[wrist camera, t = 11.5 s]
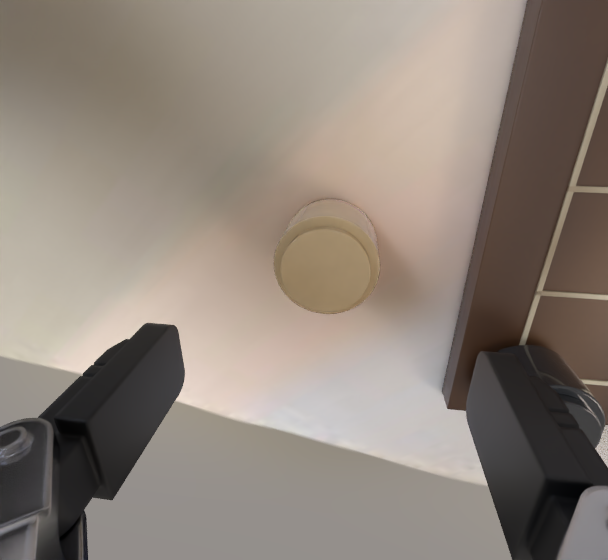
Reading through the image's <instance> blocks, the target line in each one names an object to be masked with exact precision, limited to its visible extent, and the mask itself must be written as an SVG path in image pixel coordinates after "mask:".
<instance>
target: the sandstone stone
mask: <svg viewBox="0 0 608 560" xmlns="http://www.w3.org/2000/svg"><path fill="white" fill-rule="evenodd" d="M274 271H275V276H276V279H277V281H278V284H279V285H280V287H281V289H282V290H283V292H284V293H285V294H286V295H287V297H288V298H289V299H291V300H292V301H293V302H294V303H296V304H297V305H299V306H300V307H302V308H304V309H306V310H309V311H312V312H316V313H322V314H334V313H340V312H344V311H347V310H350V309H352V308H354V307H356V306H358V305H359V304H361V303H362V302H363V301H364V300H365V299H366V298H367V297H368V296H369V295H370V294H371V292H372V291H373V290H374V288H375V286H376V284H377V281H378V278H379V273H380V260H379V252H378V244H377V237H376V232H375V229H374V227H373V224H372V223H371V221H370V219H369V218H368V217H367V216H366V214H365V213H364V212H362V211H361V210H360V209H359V208H357V207H356V206H354V205H352V204H350V203H348V202H345V201H341V200H335V199H325V200H319V201H316V202H313V203H311V204H308V205H307V206H305V207H304V208H302V209H301V210H300V211H299V212H298V213H297V214H296V215H295V216H294V217H293V219H292V220H291V222H290V223H289V225H288V227H287V229H286V231H285V232H284V234H283V236H282V238H281V239H280V241H279V243H278V245H277V248H276V251H275V255H274Z"/></svg>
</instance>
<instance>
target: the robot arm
mask: <svg viewBox="0 0 608 560" xmlns="http://www.w3.org/2000/svg"><path fill="white" fill-rule="evenodd" d="M184 376H185V370H184V363H183V357H182V351H181V345H180V339H179V333H178V329H177V327H176V326H174V325H167V324H155V323H146V324H144V325H143V326H142V327H141V328H140V329H139V330H138V331H137V332H136V333H135V334H134V335H133V336H132V337H131V338H130V339H125V340H124V341H122V342H120V343H118V344H117V345H115V346H113V347H111V348H110V349H108V350H107V351H106V352H105V353H104V354H103V355H101V356H100V357H99V358H98V359H97V360H96V361H95V362H94V365H91V366H90V367H89V368H88V369H87V370H86V371H85V372H84V373H83V376H80V377H79V378H78V379H77V380H76V381H75V382H74V383H73V384H72V385H71V386H70V387H69V388H68V389H67V390H66V391H65V392H64V393H62V395H61V396H59V397H58V398H57V399H56V401H54V402H53V403H52V404H51V405H50V406H49V407H48V408H47V409H46V410H45V411H44V412H43V413H42V414H41V415H40V416H39V417H38V418H26V419H21V420H17V421H14V422H11V423H8V424H6V425H4V426H2V427H0V560H88V549H87V524H86V514H85V512H84V509H85V507H86V506H87V505H88V503H89V502H90V500H91V499H92V497H93V498H100V499H107V500H113V498H114V497H115V495H116V494H117V492H118V491H119V489H120V487H121V486H122V484H123V483H124V481H125V479H126V478H127V476H128V474H129V473H130V471H131V470H132V468H133V467H134V465H135V463H136V462H137V460H138V459H139V457H140V455H141V454H142V452H143V451H144V449H145V447H146V446H147V444H148V443H149V441H150V440H151V438H152V436H153V435H154V433H155V432H156V430H157V428H158V427H159V425H160V424H161V422H162V420H163V419H164V417H165V415H166V414H167V412H168V411H169V409H170V408H171V406H172V404H173V403H174V401H175V400H176V398H177V396H178V395H179V393H180V391H181V389H182V386H183V383H184ZM466 414H467V421H468V425H469V428H470V431H471V434H472V437H473V440H474V444H475V447H476V450H477V453H478V456H479V459H480V462H481V465H482V468H483V471H484V474H485V477H486V480H487V483H488V486H489V489H490V492H491V495H492V498H493V502H494V505H495V508H496V511H497V514H498V517H499V520H500V523H501V526H502V529H503V532H504V535H505V538H506V541H507V544H508V548H509V551H510V553H511V557H512V560H608V468H607V466H606V465H605V463H604V462H603V460H602V459H601V457H600V456H599V454H598V453H597V451H596V450H595V448H594V447H593V445H592V444H591V442H590V441H589V439H588V438H587V436H586V435H585V433H584V432H583V430H582V429H579V424H578V423H577V421H576V420H575V418H574V417H573V415H572V414H569V409H568V408H567V406H566V405H565V403H564V402H563V400H562V399H561V397H560V396H559V394H558V393H557V392H556V391H555V390H554V389H553V388H551V387H550V386H549V385H548V384H546V383H545V382H544V381H543V380H542V379H540V378H539V377H538V376H528V374H527V373H526V371H525V369H524V368H523V366H522V364H521V363H520V361H519V359H518V358H517V356H516V355H515V354H511V353H498V352H486V351H481V352H480V353H479V354H478V356H477V359H476V364H475V368H474V372H473V376H472V380H471V384H470V388H469V392H468V396H467V402H466Z"/></svg>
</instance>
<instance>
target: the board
mask: <svg viewBox="0 0 608 560" xmlns="http://www.w3.org/2000/svg"><path fill="white" fill-rule="evenodd" d="M518 345H536V346H541V347H545V348H548V349H550V350H553V351H555V352H556V353H558V354H559V355H561V356H562V357H563V358H564V359H565V360H566V362H567V363H568V364H569V365H570V367H571V368H572V369H573V370H574V372H575V373H576V374H577V375H578V377H579V378H580V379H581V380H582V382H583V383H584V384H585V385H586V387H587V388H588V389H589V390H590V392H591V393H592V394H593V395H594V397H595V398H596V399H597V400H598V402H599V403H600V405H601V406H602V408H603V410H604V414H605V425H608V0H528V1H527V6H526V11H525V15H524V20H523V24H522V29H521V33H520V38H519V42H518V47H517V52H516V56H515V61H514V65H513V70H512V74H511V79H510V84H509V88H508V93H507V97H506V102H505V106H504V111H503V115H502V120H501V125H500V129H499V134H498V138H497V143H496V147H495V152H494V157H493V161H492V166H491V170H490V175H489V179H488V184H487V188H486V193H485V198H484V202H483V207H482V211H481V216H480V220H479V225H478V230H477V234H476V239H475V243H474V248H473V252H472V257H471V261H470V266H469V271H468V275H467V280H466V284H465V289H464V293H463V298H462V303H461V307H460V312H459V316H458V321H457V325H456V330H455V334H454V339H453V344H452V348H451V353H450V357H449V362H448V366H447V371H446V376H445V380H444V385H443V389H442V392H443V395H444V399H445V402H446V406H447V409H454V410H464V411H466V402H467V396H468V392H469V388H470V384H471V380H472V376H473V372H474V368H475V364H476V359H477V356H478V354H479V353H480V352H481V351H486V352H497V351H499V350H501V349H504V348H507V347H511V346H518Z"/></svg>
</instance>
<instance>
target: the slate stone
mask: <svg viewBox="0 0 608 560" xmlns="http://www.w3.org/2000/svg"><path fill="white" fill-rule="evenodd" d="M497 352H498V353H511V354H515V355H516V356H517V358H518V359H519V361H520V363H521V364H522V366H523V368H524V369H525V371H526V373H527V374H528V376H538V377H539V378H540V379H542V380H543V381H544V382H545V383H546V384H548V385H549V386H550V387H551V388H553V389H554V390H555V391H556V392H557V393H558V394H559V396H560V397H561V399H562V400H563V402H564V403H565V405H566V406H567V408H568V409H569V414H572V415H573V417H574V418H575V420H576V421H577V423H578V424H579V429H582V430H583V432H584V433H585V435H586V436H587V438H588V439H589V441H590V442H591V444H592V445H593V447H594V448H596V446H597V445H598V443H599V441H600V439H601V435H602V433H603V430H604V427H605V414H604V410H603V408H602V406H601V405H600V403H599V402H598V400H597V399H596V398H595V397H594V395H593V394H592V393H591V392H590V390H589V389H588V388H587V387H586V385H585V384H584V383H583V382H582V380H581V379H580V378H579V377H578V375H577V374H576V373H575V372H574V370H573V369H572V368H571V367H570V365H569V364H568V363H567V362H566V360H565V359H564V358H563V357H562V356H561V355H559V354H558V353H556V352H555V351H553V350H550V349H548V348H545V347H541V346H536V345H518V346H511V347H507V348H504V349H501V350H499V351H497Z"/></svg>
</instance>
